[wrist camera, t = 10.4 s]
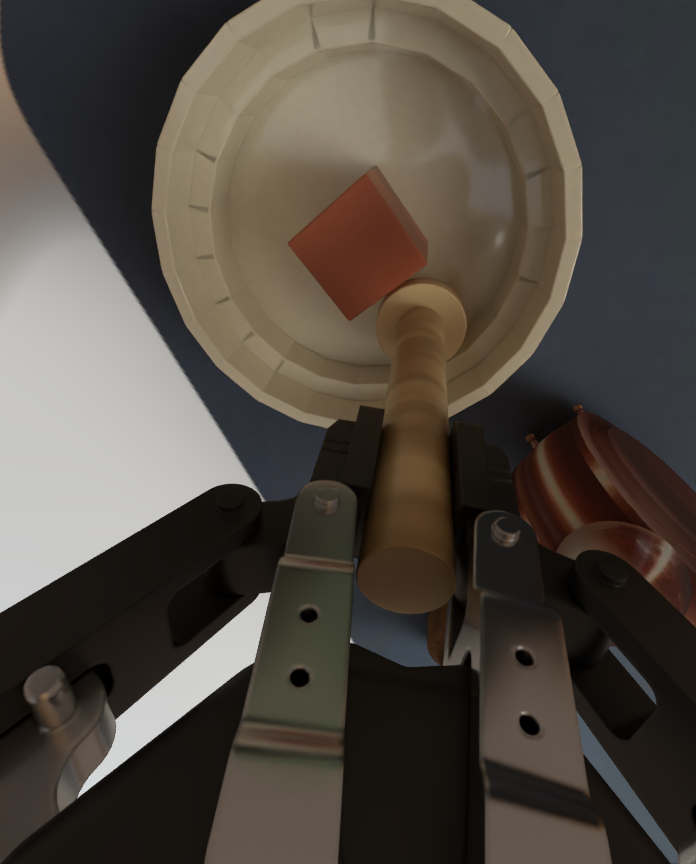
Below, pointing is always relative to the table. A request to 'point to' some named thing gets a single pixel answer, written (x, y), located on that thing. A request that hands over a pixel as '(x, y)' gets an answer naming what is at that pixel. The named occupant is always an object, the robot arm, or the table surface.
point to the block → (362, 245)
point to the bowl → (341, 167)
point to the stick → (413, 454)
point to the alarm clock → (611, 504)
